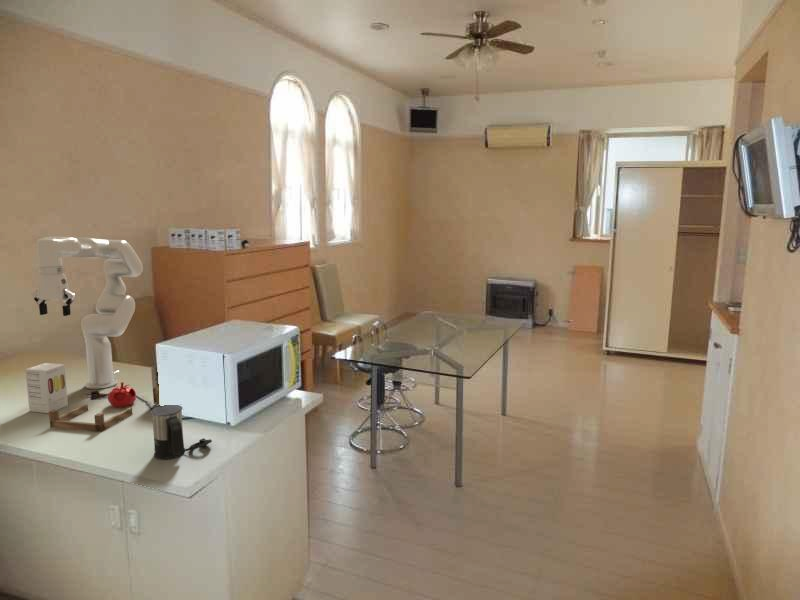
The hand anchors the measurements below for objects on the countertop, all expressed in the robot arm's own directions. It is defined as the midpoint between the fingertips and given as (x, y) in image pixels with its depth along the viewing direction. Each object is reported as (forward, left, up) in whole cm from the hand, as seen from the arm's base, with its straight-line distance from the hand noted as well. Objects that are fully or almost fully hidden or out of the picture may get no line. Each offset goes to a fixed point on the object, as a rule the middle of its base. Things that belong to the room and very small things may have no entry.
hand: (55, 314), depth 210 cm
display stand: (+13, +24, -36) cm, 45 cm away
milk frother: (+30, +70, -36) cm, 84 cm away
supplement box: (+6, -1, -36) cm, 37 cm away
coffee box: (-7, +41, -36) cm, 55 cm away
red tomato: (-3, +24, -36) cm, 43 cm away
